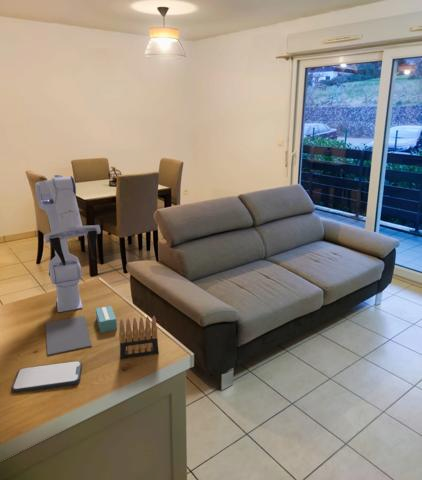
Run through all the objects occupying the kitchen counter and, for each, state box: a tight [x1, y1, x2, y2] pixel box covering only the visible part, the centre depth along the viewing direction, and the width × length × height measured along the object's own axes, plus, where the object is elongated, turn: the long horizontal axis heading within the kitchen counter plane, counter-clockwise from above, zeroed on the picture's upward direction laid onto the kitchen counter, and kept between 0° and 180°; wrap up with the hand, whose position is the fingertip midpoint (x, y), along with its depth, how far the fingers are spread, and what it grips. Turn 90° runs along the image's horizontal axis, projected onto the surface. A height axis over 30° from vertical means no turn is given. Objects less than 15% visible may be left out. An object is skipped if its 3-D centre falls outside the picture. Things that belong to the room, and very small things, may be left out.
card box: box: [95, 305, 118, 333], centre depth 124 cm, size 9×5×4 cm, turn 24°
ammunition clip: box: [118, 315, 160, 360], centre depth 108 cm, size 11×2×12 cm, turn 105°
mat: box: [45, 315, 92, 356], centre depth 118 cm, size 18×12×1 cm, turn 24°
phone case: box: [11, 360, 83, 394], centre depth 100 cm, size 9×2×16 cm
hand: (79, 261), depth 104 cm, fingers open, 7 cm apart
